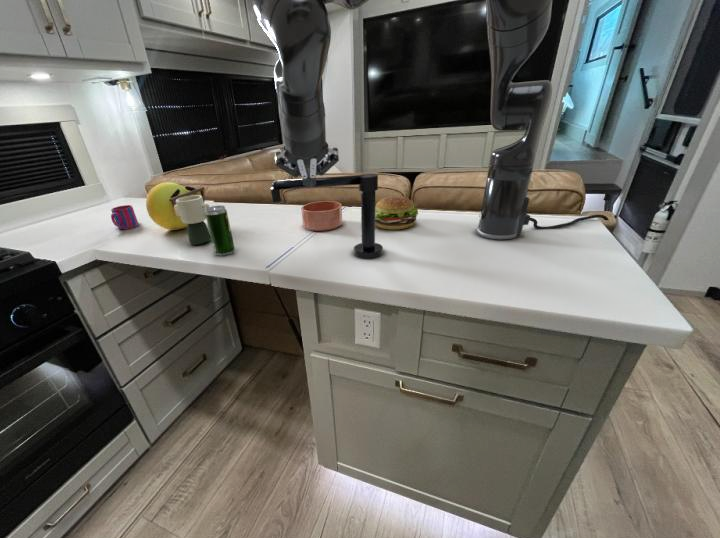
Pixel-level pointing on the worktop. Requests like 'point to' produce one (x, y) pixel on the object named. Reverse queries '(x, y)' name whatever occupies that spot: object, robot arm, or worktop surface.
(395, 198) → the food
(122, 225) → the cup
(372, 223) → the faucet base
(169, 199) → the emoji
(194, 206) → the character mug
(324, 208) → the basin
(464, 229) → the worktop surface
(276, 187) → the spout
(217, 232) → the beer can
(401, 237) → the worktop surface
